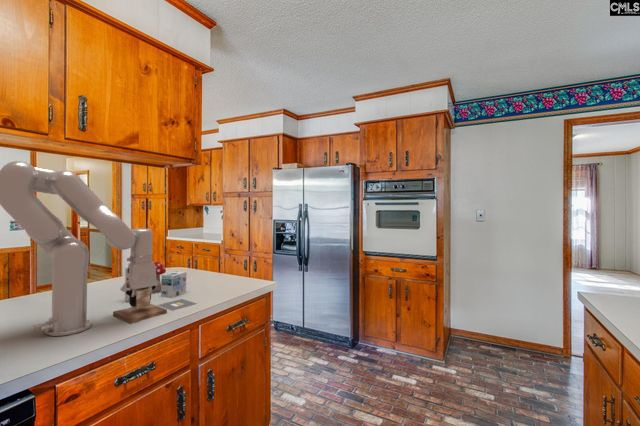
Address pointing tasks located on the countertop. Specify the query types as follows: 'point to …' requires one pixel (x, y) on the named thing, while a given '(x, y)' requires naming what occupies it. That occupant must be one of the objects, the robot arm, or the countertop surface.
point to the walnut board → (139, 313)
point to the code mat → (177, 304)
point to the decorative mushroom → (158, 275)
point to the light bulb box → (173, 284)
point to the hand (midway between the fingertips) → (140, 303)
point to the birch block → (142, 297)
